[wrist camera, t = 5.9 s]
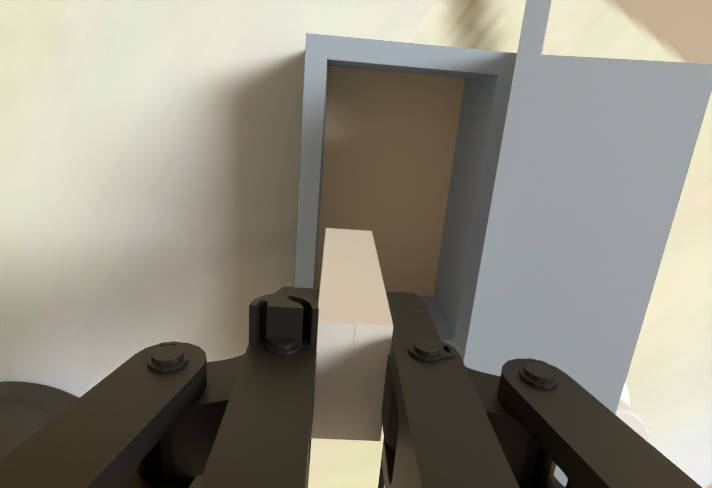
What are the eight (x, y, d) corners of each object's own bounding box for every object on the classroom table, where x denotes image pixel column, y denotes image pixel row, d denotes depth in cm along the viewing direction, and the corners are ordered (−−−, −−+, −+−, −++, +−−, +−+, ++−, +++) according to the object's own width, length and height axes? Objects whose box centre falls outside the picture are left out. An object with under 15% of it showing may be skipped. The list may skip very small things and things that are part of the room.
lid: (430, 501, 17) (574, 551, 16) (514, -1, 12) (737, 3, 11) (466, 364, 27) (559, 387, 25) (522, 46, 22) (642, 52, 20)
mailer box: (300, 295, 33) (291, 347, 26) (313, 47, 28) (306, 33, 21) (442, 304, 33) (469, 357, 27) (479, 62, 29) (523, 54, 22)
